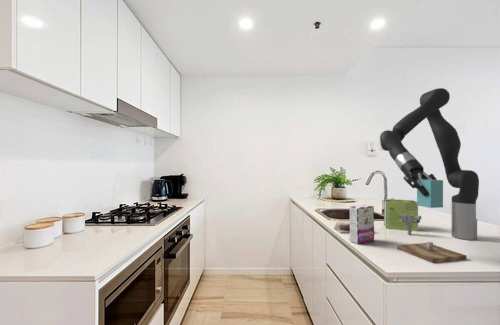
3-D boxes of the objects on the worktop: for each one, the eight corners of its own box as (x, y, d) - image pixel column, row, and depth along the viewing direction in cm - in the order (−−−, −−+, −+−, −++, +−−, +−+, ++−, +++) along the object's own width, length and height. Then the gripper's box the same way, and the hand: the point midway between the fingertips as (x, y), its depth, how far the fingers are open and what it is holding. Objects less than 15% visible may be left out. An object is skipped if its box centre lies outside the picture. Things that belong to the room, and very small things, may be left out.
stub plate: (427, 246, 110) (427, 235, 110) (466, 259, 95) (466, 247, 95) (397, 248, 107) (397, 238, 107) (432, 263, 91) (432, 250, 91)
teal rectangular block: (428, 204, 105) (428, 179, 105) (442, 207, 99) (443, 180, 99) (417, 205, 103) (417, 179, 103) (430, 207, 97) (430, 180, 98)
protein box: (418, 231, 135) (418, 202, 136) (386, 228, 141) (386, 200, 141) (413, 227, 145) (413, 200, 145) (383, 224, 151) (383, 198, 151)
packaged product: (339, 224, 130) (333, 220, 140) (339, 234, 130) (333, 229, 140) (374, 225, 130) (366, 221, 140) (374, 234, 130) (366, 229, 140)
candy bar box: (365, 238, 121) (365, 204, 121) (374, 241, 117) (374, 205, 117) (348, 241, 116) (348, 205, 116) (357, 244, 112) (358, 207, 112)
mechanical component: (422, 236, 126) (422, 216, 126) (399, 234, 128) (399, 215, 129) (419, 234, 129) (419, 214, 129) (397, 233, 131) (397, 214, 131)
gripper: (399, 158, 107) (425, 189, 95) (427, 158, 110) (455, 188, 99) (390, 170, 112) (413, 201, 100) (416, 170, 115) (441, 200, 104)
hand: (433, 194), depth 99 cm, fingers closed on teal rectangular block, 6 cm apart
